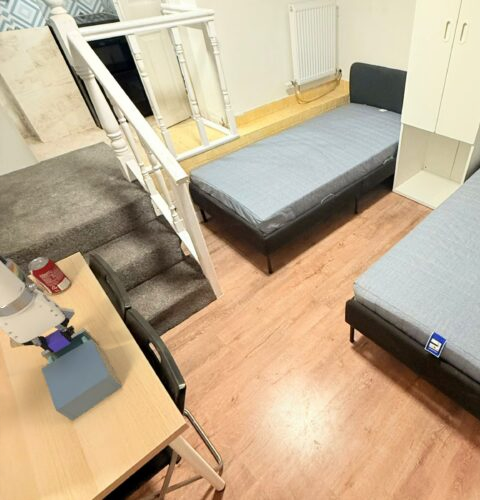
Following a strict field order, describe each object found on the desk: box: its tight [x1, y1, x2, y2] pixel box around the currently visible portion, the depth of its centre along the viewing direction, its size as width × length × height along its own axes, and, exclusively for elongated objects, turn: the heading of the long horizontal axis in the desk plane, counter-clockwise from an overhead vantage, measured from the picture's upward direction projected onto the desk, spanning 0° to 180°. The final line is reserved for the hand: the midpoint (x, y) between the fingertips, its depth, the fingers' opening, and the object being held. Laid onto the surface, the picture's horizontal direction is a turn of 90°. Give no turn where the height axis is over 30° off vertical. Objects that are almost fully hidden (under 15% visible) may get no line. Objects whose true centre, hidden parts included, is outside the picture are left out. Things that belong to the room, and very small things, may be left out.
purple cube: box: [44, 329, 70, 352], centre depth 84 cm, size 4×4×3 cm
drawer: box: [40, 325, 99, 364], centre depth 90 cm, size 19×11×7 cm, turn 43°
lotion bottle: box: [0, 253, 43, 293], centre depth 103 cm, size 6×6×20 cm
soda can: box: [27, 256, 71, 295], centre depth 108 cm, size 7×7×12 cm
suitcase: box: [41, 339, 123, 422], centre depth 84 cm, size 14×12×9 cm
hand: (60, 342), depth 85 cm, fingers closed on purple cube, 3 cm apart
